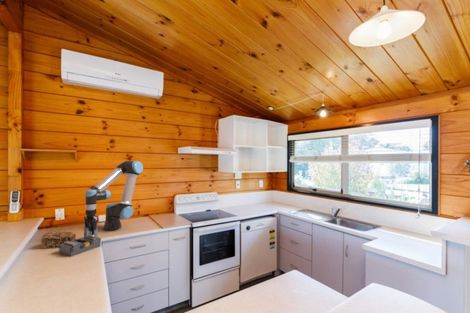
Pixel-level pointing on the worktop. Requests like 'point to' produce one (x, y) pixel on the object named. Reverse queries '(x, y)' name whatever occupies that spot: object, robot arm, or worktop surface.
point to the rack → (79, 245)
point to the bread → (56, 239)
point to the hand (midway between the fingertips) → (90, 238)
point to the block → (87, 231)
